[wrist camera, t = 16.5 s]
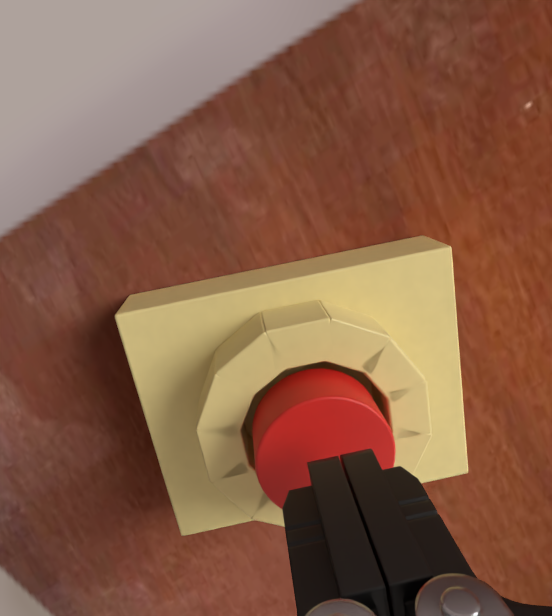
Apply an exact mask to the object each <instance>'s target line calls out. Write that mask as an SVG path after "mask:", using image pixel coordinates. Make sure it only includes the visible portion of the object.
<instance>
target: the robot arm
mask: <svg viewBox="0 0 552 616" xmlns="http://www.w3.org/2000/svg"><path fill="white" fill-rule="evenodd" d="M307 466H308V471H309V476H310V481H311V486H307V487H302V488H298V489H293V490H289V492H288V494H287V497H286V500H285V502H284V505H283V508H282V511H283V518H284V525H285V531H286V539H287V545H288V552H289V559H290V566H291V573H292V580H293V587H294V594H295V600H296V607H297V616H552V607H549V606H537V605H528V604H522V603H518V602H514V601H511V600H509V599H506V598H504V597H502V596H500V595H499V594H498V593H497V592H496V591H495V590H494V589H493V588H492V587H491V586H489V585H488V584H487V583H485V582H483V581H481V580H479V579H478V578H477V577H476V576H475V574H474V573H473V572H472V570H471V568H470V567H469V565H468V563H467V561H466V560H465V558H464V556H463V555H462V553H461V551H460V549H459V548H458V546H457V544H456V543H455V541H454V539H453V538H452V536H451V534H450V532H449V531H448V529H447V527H446V526H445V524H444V522H443V520H442V519H441V517H440V515H439V514H437V510H436V508H435V507H434V505H433V503H432V502H431V500H430V499H429V498H428V495H427V493H426V491H425V490H424V488H423V486H422V485H421V483H420V481H419V479H418V478H417V477H415V476H414V475H412V474H411V473H410V472H408V471H407V470H405V469H404V468H403V467H401V466H397V467H393V468H388V469H384V470H382V468H381V466H380V464H379V462H378V460H377V458H376V456H375V454H374V452H373V450H372V449H371V448H370V449H365V450H360V451H356V452H351V453H347V454H342V455H340V459H339V457H338V456H334V457H329V458H324V459H320V460H315V461H311V462H307Z"/></svg>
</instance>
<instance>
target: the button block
mask: <svg viewBox="0 0 552 616" xmlns="http://www.w3.org/2000/svg"><path fill="white" fill-rule="evenodd" d="M115 320H116V323H117V327H118V330H119V333H120V337H121V340H122V343H123V346H124V350H125V353H126V356H127V359H128V363H129V366H130V369H131V373H132V376H133V379H134V382H135V386H136V389H137V392H138V396H139V399H140V402H141V405H142V409H143V412H144V415H145V418H146V422H147V425H148V428H149V432H150V435H151V438H152V441H153V445H154V448H155V451H156V454H157V458H158V461H159V464H160V468H161V471H162V474H163V477H164V481H165V484H166V487H167V490H168V494H169V497H170V500H171V504H172V507H173V510H174V513H175V517H176V520H177V523H178V526H179V530H180V533H181V535H182V536H185V535H190V534H194V533H199V532H204V531H208V530H213V529H217V528H222V527H226V526H231V525H235V524H240V523H244V522H249V521H253V520H257V521H262V522H266V523H271V524H275V525H279V526H284V527H285V525H284V518H283V511H282V509H281V508H279V507H278V506H277V505H276V504H274V503H273V502H272V501H271V500H270V499H269V498H268V497H267V495H266V494H265V492H264V491H263V490H262V488H261V486H260V484H259V481H258V478H257V475H256V468H255V458H254V447H253V435H252V424H253V418H254V414H255V411H256V409H257V406H258V404H259V402H260V401H261V399H262V398H263V396H264V395H265V394H266V393H267V391H268V390H269V389H270V388H271V387H273V386H274V385H275V384H276V383H277V382H279V381H280V380H281V379H283V378H285V377H287V376H289V375H291V374H293V373H296V372H299V371H303V370H308V369H318V368H323V369H332V370H336V371H340V372H342V373H345V374H347V375H349V376H351V377H353V378H355V379H356V380H357V381H359V382H360V383H361V384H362V385H363V386H364V387H365V388H366V389H367V391H368V392H369V393H370V395H371V397H372V398H373V400H374V401H375V403H376V405H377V406H378V408H379V410H380V411H381V413H382V415H383V416H384V418H385V420H386V421H387V423H388V425H389V427H390V429H391V431H392V434H393V436H394V441H395V448H396V455H395V463H394V467H397V466H401V467H403V468H404V469H405V470H407V471H408V472H410V473H411V474H412V475H414V476H415V477H417V478H418V479H419V481H420V483H425V482H430V481H434V480H439V479H443V478H448V477H452V476H457V475H461V474H466V473H468V462H467V448H466V435H465V422H464V408H463V395H462V381H461V368H460V355H459V341H458V328H457V315H456V301H455V288H454V275H453V261H452V248H451V246H448V245H446V244H443V243H441V242H438V241H436V240H433V239H430V238H428V237H425V236H418V237H413V238H408V239H403V240H398V241H393V242H388V243H383V244H378V245H373V246H369V247H364V248H359V249H354V250H349V251H344V252H339V253H334V254H329V255H324V256H319V257H315V258H310V259H305V260H300V261H295V262H290V263H285V264H280V265H275V266H270V267H265V268H260V269H256V270H251V271H246V272H241V273H236V274H231V275H226V276H221V277H216V278H211V279H206V280H202V281H197V282H192V283H187V284H182V285H177V286H172V287H167V288H162V289H157V290H152V291H148V292H143V293H138V294H133V295H130V296H128V298H127V299H126V301H125V302H124V303H123V305H122V306H121V307H120V309H119V310H118V311H117V313H116V314H115Z"/></svg>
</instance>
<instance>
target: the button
mask: <svg viewBox="0 0 552 616" xmlns="http://www.w3.org/2000/svg"><path fill="white" fill-rule="evenodd" d="M252 435H253V447H254V458H255V468H256V475H257V478H258V481H259V484H260V486H261V488H262V490H263V491H264V492H265V494H266V495H267V497H268V498H269V499H270V500H271V501H272V502H273V503H274V504H276V505H277V506H278V507H279V508H281V509H282V508H283V505H284V502H285V500H286V497H287V494H288V492H289V490H293V489H298V488H302V487H307V486H311V481H310V476H309V471H308V466H307V462H311V461H315V460H320V459H324V458H329V457H334V456H338V457H339V459H340V455H342V454H347V453H351V452H356V451H360V450H365V449H370V448H371V449H372V450H373V452H374V454H375V456H376V458H377V460H378V462H379V464H380V466H381V468H382V470H384V469H388V468H393V467H394V463H395V455H396V448H395V441H394V436H393V434H392V431H391V429H390V427H389V425H388V423H387V421H386V420H385V418H384V416H383V415H382V413H381V411H380V410H379V408H378V406H377V405H376V403H375V401H374V400H373V398H372V397H371V395H370V393H369V392H368V391H367V389H366V388H365V387H364V386H363V385H362V384H361V383H360V382H359V381H357V380H356V379H355V378H353V377H351V376H349V375H347V374H345V373H342V372H340V371H336V370H332V369H323V368H318V369H308V370H303V371H299V372H296V373H293V374H291V375H289V376H287V377H285V378H283V379H281V380H280V381H279V382H277V383H276V384H275V385H274V386H273V387H271V388H270V389H269V390H268V391H267V393H266V394H265V395H264V396H263V398H262V399H261V401H260V402H259V404H258V406H257V409H256V411H255V414H254V418H253V424H252Z"/></svg>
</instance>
